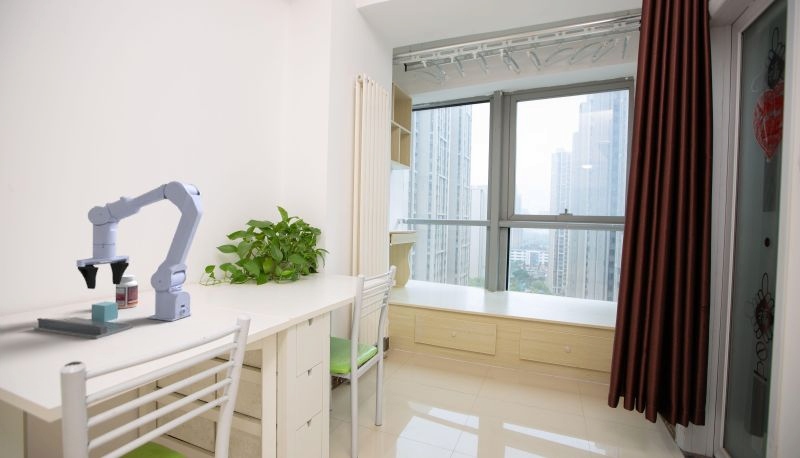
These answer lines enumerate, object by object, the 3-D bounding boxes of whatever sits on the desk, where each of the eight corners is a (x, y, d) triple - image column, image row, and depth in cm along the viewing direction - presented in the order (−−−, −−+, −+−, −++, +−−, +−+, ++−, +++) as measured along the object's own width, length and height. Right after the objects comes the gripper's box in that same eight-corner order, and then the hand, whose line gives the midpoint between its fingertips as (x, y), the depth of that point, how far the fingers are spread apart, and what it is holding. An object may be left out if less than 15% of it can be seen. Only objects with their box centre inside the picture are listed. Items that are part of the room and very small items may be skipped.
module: (118, 318, 109) (119, 302, 109) (104, 322, 105) (104, 305, 105) (106, 316, 110) (106, 301, 110) (91, 320, 106) (91, 304, 106)
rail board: (133, 327, 101) (133, 317, 101) (96, 339, 91) (96, 327, 91) (74, 320, 106) (74, 310, 105) (33, 330, 96) (33, 319, 96)
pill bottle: (137, 303, 127) (137, 273, 126) (138, 307, 122) (138, 276, 122) (115, 305, 123) (115, 275, 122) (115, 309, 118) (115, 277, 118)
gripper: (117, 242, 118) (117, 281, 119) (68, 245, 104) (68, 289, 105) (134, 243, 117) (133, 283, 117) (86, 246, 103) (86, 291, 103)
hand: (104, 286), depth 111 cm, fingers open, 7 cm apart
